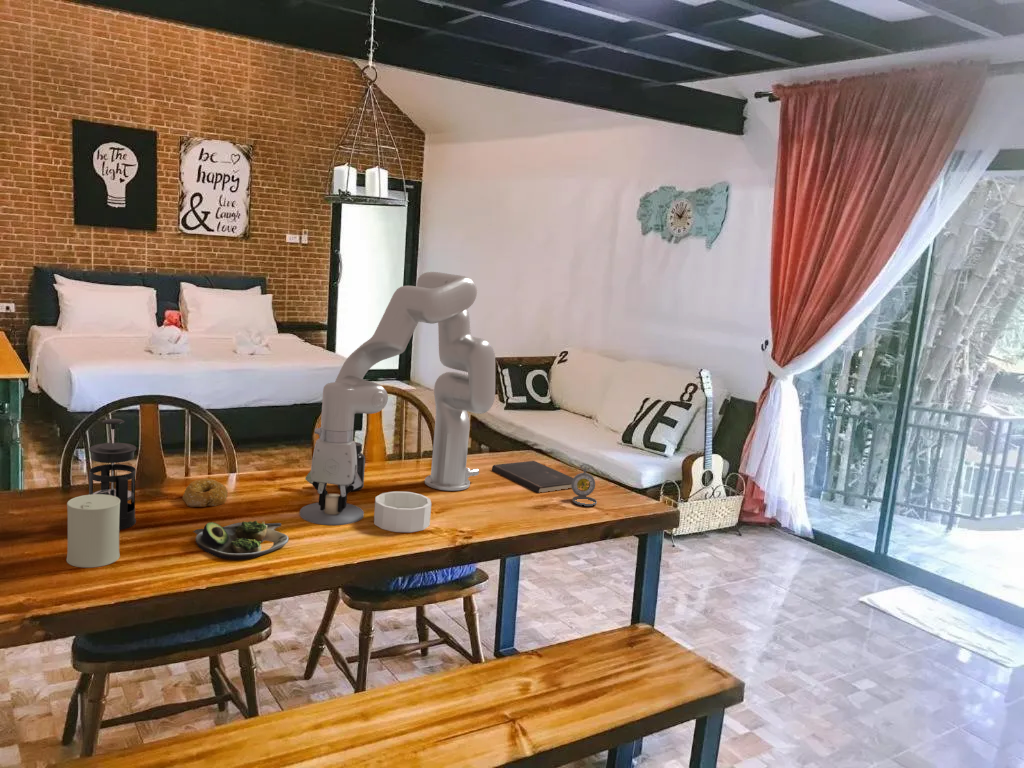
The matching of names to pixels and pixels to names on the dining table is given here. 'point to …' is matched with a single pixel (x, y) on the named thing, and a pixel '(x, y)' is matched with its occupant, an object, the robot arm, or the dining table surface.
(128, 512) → the french press
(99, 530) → the can
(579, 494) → the pocket watch
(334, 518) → the lid
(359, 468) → the supplement bottle
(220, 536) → the salad plate
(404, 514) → the bowl
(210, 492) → the bagel
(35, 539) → the dining table surface
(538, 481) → the hardcover book
